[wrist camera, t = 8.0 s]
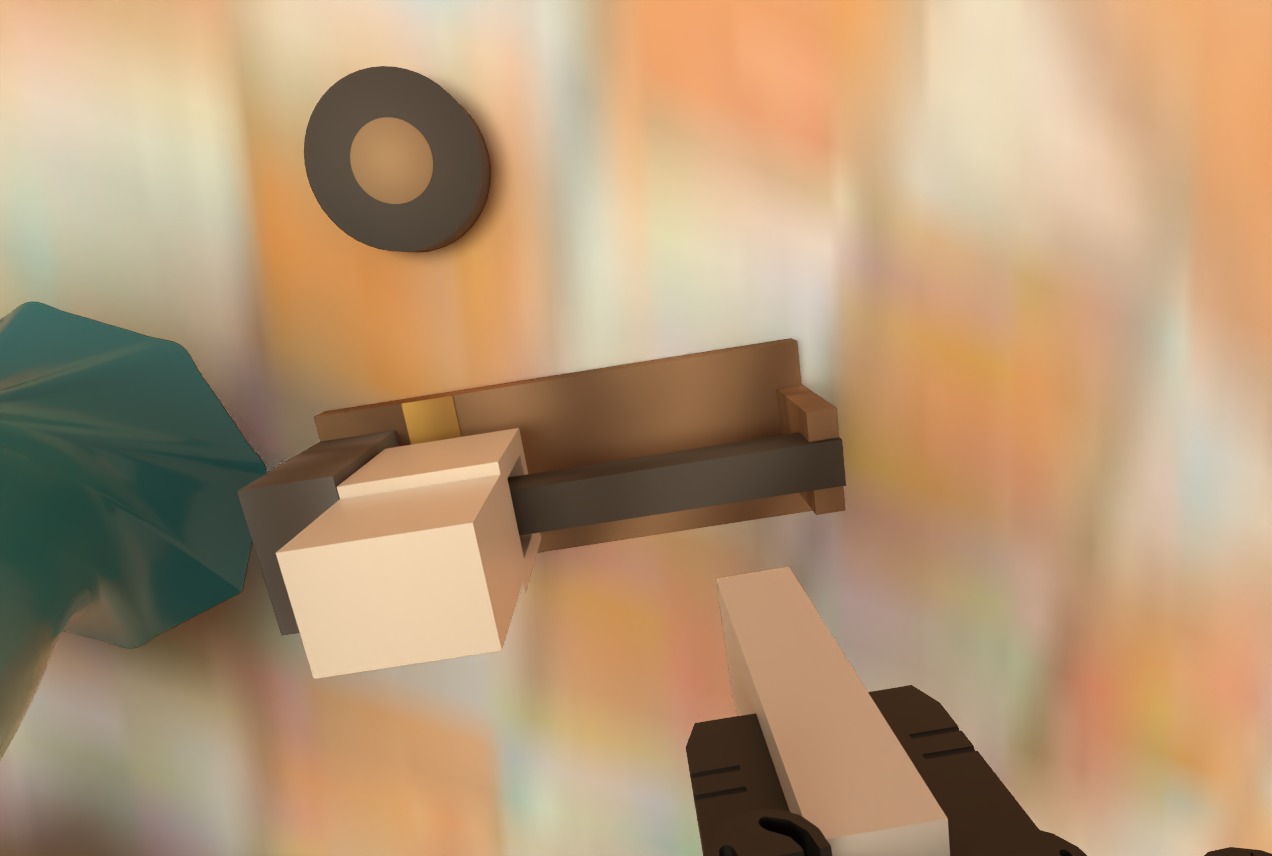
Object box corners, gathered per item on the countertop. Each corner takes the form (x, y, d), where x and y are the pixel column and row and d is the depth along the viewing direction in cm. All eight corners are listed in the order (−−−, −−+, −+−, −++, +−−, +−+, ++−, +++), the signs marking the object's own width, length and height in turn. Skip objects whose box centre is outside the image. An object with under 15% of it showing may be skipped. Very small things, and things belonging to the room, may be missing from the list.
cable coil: (351, 263, 26) (328, 263, 24) (309, 96, 25) (281, 81, 23) (504, 239, 26) (494, 236, 24) (471, 69, 25) (458, 51, 23)
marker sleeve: (412, 558, 26) (317, 692, 18) (385, 448, 25) (271, 537, 17) (541, 538, 26) (504, 664, 18) (518, 428, 25) (469, 507, 17)
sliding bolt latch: (367, 569, 29) (289, 662, 22) (324, 411, 28) (227, 460, 21) (807, 502, 29) (864, 575, 22) (790, 338, 27) (847, 363, 20)
